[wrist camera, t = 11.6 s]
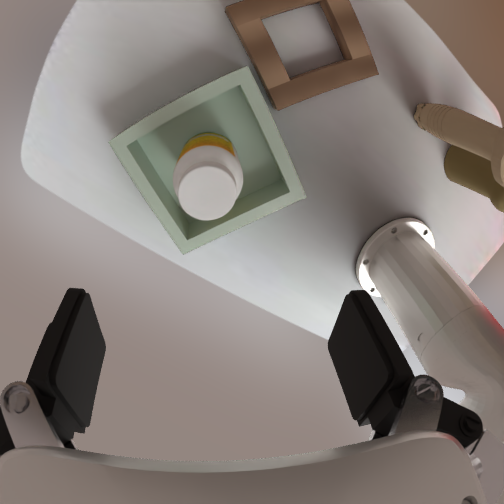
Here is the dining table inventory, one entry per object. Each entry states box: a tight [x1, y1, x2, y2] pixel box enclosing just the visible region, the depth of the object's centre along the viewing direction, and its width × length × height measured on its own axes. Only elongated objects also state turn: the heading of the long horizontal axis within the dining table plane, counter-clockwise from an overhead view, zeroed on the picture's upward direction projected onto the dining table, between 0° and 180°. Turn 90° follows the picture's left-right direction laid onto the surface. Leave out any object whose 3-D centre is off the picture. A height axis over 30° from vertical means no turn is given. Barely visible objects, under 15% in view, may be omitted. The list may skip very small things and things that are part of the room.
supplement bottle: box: [173, 132, 243, 220], centre depth 24 cm, size 5×5×10 cm
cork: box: [444, 145, 504, 212], centre depth 27 cm, size 6×6×11 cm
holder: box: [225, 0, 379, 111], centre depth 22 cm, size 11×11×2 cm
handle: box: [414, 103, 504, 187], centre depth 22 cm, size 5×6×15 cm
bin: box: [108, 66, 306, 255], centre depth 27 cm, size 13×13×4 cm
